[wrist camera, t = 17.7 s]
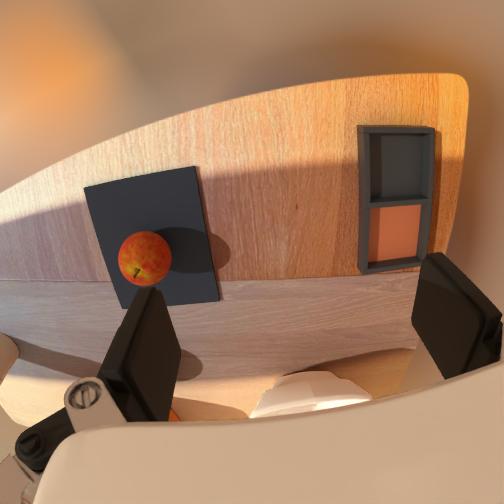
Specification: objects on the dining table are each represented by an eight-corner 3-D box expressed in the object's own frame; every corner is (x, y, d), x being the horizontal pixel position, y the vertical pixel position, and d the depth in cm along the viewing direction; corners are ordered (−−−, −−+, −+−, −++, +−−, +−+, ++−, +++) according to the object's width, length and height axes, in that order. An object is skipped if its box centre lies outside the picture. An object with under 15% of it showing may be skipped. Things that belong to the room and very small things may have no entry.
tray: (356, 125, 36) (363, 126, 34) (426, 126, 36) (434, 127, 34) (357, 267, 45) (362, 275, 43) (418, 258, 45) (424, 265, 43)
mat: (84, 187, 38) (83, 188, 38) (194, 165, 38) (194, 166, 38) (123, 307, 47) (122, 309, 47) (220, 299, 47) (219, 301, 47)
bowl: (251, 422, 62) (252, 467, 51) (238, 354, 52) (238, 408, 42) (350, 409, 61) (362, 452, 51) (365, 339, 52) (386, 388, 41)
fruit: (149, 212, 40) (130, 237, 33) (186, 248, 43) (175, 279, 35) (119, 244, 42) (97, 273, 35) (154, 277, 44) (139, 310, 37)
